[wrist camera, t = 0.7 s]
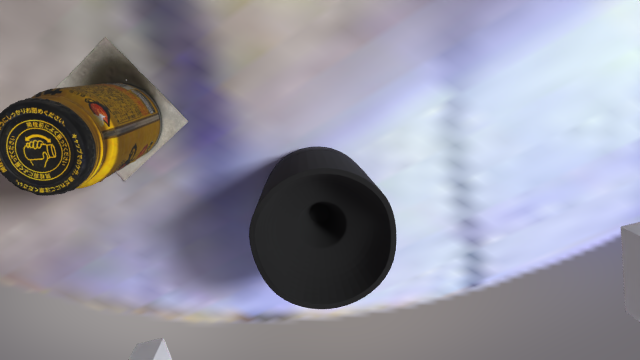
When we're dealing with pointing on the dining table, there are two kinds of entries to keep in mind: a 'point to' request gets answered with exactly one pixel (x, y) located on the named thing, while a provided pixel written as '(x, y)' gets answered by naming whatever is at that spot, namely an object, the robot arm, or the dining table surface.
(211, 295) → the dining table surface
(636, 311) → the robot arm
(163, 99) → the condiment
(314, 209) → the pen holder
